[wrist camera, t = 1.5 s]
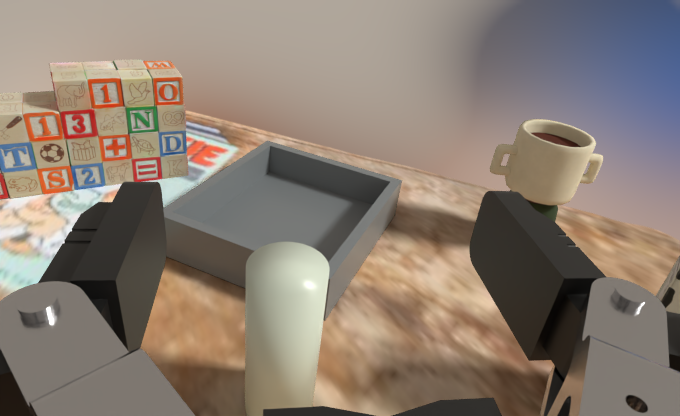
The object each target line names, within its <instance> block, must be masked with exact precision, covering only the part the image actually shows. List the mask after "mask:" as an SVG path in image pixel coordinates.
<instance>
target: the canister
mask: <svg viewBox="0 0 680 416" xmlns="http://www.w3.org/2000/svg"><path fill="white" fill-rule="evenodd" d="M329 271H330V270H329V264H328V261H327V260H326V258H325V257H324V256H323V255H322V254H321V253H320V252H319V251H317V250H316V249H314V248H312V247H310V246H308V245H305V244H301V243H296V242H276V243H271V244H267V245H265V246H262V247H260V248H258V249H257V250H255V251H254V252H253V253H252V254H251V255H250V256H249V258H248V260H247V262H246V305H245V411H246V414H247V416H263V409H278V408H298V407H312V406H313V398H314V390H315V382H316V374H317V366H318V358H319V350H320V342H321V334H322V327H323V319H324V311H325V303H326V295H327V287H328V279H329Z"/></svg>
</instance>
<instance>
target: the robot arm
mask: <svg viewBox="0 0 680 416" xmlns="http://www.w3.org/2000/svg"><path fill="white" fill-rule="evenodd" d="M575 245H576V244H575V243H574V242H573V241H572V240H571V239H570V238H569V237H568V236H566V233H565V232H564V231H563V230H562V229H561V228H560V227H559V226H558V225H557V224H556V223H555V222H554V221H553V220H551V219H549V218H548V217H546V216H545V215H543V214H541V213H540V212H538V211H536V210H535V209H534V208H533V207H532V206H531V205H530V204H529V202H528V201H527V200H526V199H525V198H524V197H523V196H522V195H521V194H520V193H519V192H513V191H488V192H487V193H486V194H485V195H484V197H483V199H482V203H481V206H480V210H479V213H478V217H477V220H476V224H475V227H474V231H473V234H472V238H471V241H470V258H471V262H472V264H473V266H474V268H475V270H476V271H477V273H478V275H479V276H480V278H481V280H482V281H483V283H484V285H485V287H486V288H487V290H488V292H489V293H490V295H491V297H492V298H493V300H494V302H495V304H496V305H497V307H498V309H499V310H500V312H501V314H502V315H503V317H504V319H505V321H506V322H507V324H508V326H509V327H510V329H511V331H512V333H513V334H514V336H515V338H516V339H517V341H518V343H519V344H520V346H521V348H522V350H523V351H524V353H525V355H526V356H527V358H528V360H529V361H532V360H552V362H553V363H554V366H553V368H552V370H551V372H550V375H549V378H548V382H547V386H546V390H545V395H544V399H543V403H542V407H541V411H540V416H680V314H678V313H673V312H668V311H666V309H665V307H664V305H663V304H662V303H661V301H660V300H659V299H658V298H657V297H656V296H654V295H653V294H652V293H650V292H649V291H648V290H646V289H644V288H642V287H641V286H639V285H636V284H634V283H632V282H629V281H626V280H623V279H618V278H612V277H606V276H605V275H604V274H603V273H602V272H601V271H600V270H599V269H598V268H597V267H596V266H595V264H594V263H593V262H592V261H591V260H590V259H589V258H588V257H587V256H586V255H585V254H584V253H583V252H582V251H581V250H580V248H579V247H576V246H575ZM166 251H167V240H166V230H165V220H164V211H163V201H162V192H161V187H160V184H159V183H158V182H127V181H125V182H123V183H122V185H121V187H120V189H119V191H118V192H117V194H116V196H115V198H114V200H113V202H98V203H97V204H95V205H94V206H92V207H91V208H89V209H88V210H87V211H85V212H84V213H82V214H81V215H80V217H79V218H78V220H77V222H76V223H75V225H74V226H73V228H72V232H70V233H69V234H68V236H67V238H66V239H65V244H62V246H61V247H60V249H59V250H58V252H57V254H56V255H55V257H54V258H53V260H52V262H51V263H50V265H49V266H48V268H47V270H46V271H45V273H44V274H43V276H42V278H41V279H40V281H39V282H38V283H37V284H33V285H30V286H27V287H24V288H22V289H19V290H17V291H15V292H13V293H11V294H10V295H8V296H7V297H5V298H4V299H3V300H1V301H0V416H195V415H194V413H193V412H192V411H191V410H190V408H189V407H188V406H187V405H186V403H185V402H184V401H183V399H182V398H181V397H180V396H179V394H178V393H177V392H176V390H175V389H174V388H173V387H172V385H171V384H170V383H169V381H168V380H167V379H166V378H165V376H164V375H163V374H162V373H161V371H160V370H159V369H158V367H157V366H156V365H155V364H154V362H153V361H152V360H151V358H150V357H149V356H148V355H147V354H146V353H145V352H144V351H143V350H142V349H140V347H141V343H142V340H143V336H144V333H145V330H146V326H147V323H148V320H149V316H150V313H151V309H152V306H153V303H154V299H155V296H156V292H157V289H158V286H159V282H160V279H161V275H162V272H163V269H164V265H165V260H166ZM263 416H374V415H369V414H363V413H358V412H352V411H347V410H341V409H335V408H330V407H324V406H319V407H298V408H278V409H263ZM393 416H502V415H501V413H500V411H499V409H498V407H497V404H496V402H495V400H494V398H479V399H459V400H440V401H437V402H434V403H430V404H427V405H424V406H421V407H418V408H415V409H412V410H408V411H405V412H402V413H399V414H396V415H393Z"/></svg>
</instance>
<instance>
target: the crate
mask: <svg viewBox="0 0 680 416" xmlns="http://www.w3.org/2000/svg"><path fill="white" fill-rule="evenodd" d="M401 183H402V180H398V179H395V178H392V177H388V176H385V175H381V174H378V173H375V172H371V171H368V170H365V169H361V168H358V167H354V166H351V165H348V164H344V163H341V162H338V161H334V160H331V159H327V158H324V157H321V156H317V155H314V154H310V153H307V152H304V151H300V150H297V149H294V148H290V147H287V146H283V145H280V144H277V143H273V142H270V141H266V142H265V143H263V144H262V145H260V146H259V147H257V148H256V149H254V150H252V151H251V152H249V153H248V154H246V155H245V156H243V157H242V158H240V159H239V160H237V161H236V162H234V163H233V164H231V165H230V166H228V167H226V168H225V169H223V170H222V171H220V172H219V173H217V174H216V175H214V176H213V177H211V178H210V179H208V180H207V181H205V182H203V183H202V184H200V185H199V186H197V187H196V188H194V189H193V190H191V191H190V192H188V193H187V194H185V195H184V196H182V197H180V198H179V199H177V200H176V201H174V202H173V203H171V204H170V205H168V206H167V207H165V208H164V209H163V211H164V220H165V230H166V240H167V251H166V257H169V258H171V259H174V260H176V261H179V262H181V263H184V264H186V265H188V266H191V267H193V268H196V269H198V270H201V271H203V272H206V273H208V274H211V275H213V276H216V277H218V278H221V279H223V280H226V281H228V282H231V283H233V284H236V285H238V286H241V287H243V288H245V289H246V262H247V260H248V258H249V256H250V255H251V254H252V253H253V252H254V251H255V250H257V249H258V248H260V247H262V246H265V245H267V244H271V243H276V242H296V243H301V244H305V245H308V246H310V247H312V248H314V249H316V250H317V251H319V252H320V253H321V254H322V255H323V256H324V257H325V258H326V260H327V261H328V264H329V270H330V271H329V279H328V287H327V295H326V303H325V311H324V319H323V320H326V318H327V317H328V315H329V314H330V312H331V311H332V309H333V308H334V306H335V305H336V303H337V302H338V300H339V299H340V297H341V296H342V294H343V293H344V291H345V290H346V288H347V287H348V285H349V284H350V282H351V280H352V279H353V277H354V276H355V274H356V273H357V271H358V270H359V268H360V267H361V265H362V264H363V262H364V261H365V259H366V258H367V256H368V255H369V253H370V252H371V250H372V249H373V247H374V246H375V244H376V243H377V241H378V240H379V238H380V237H381V235H382V234H383V232H384V231H385V229H386V228H387V226H388V225H389V223H390V222H391V220H392V219H393V217H394V215H395V212H396V207H397V202H398V197H399V192H400V188H401Z"/></svg>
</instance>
